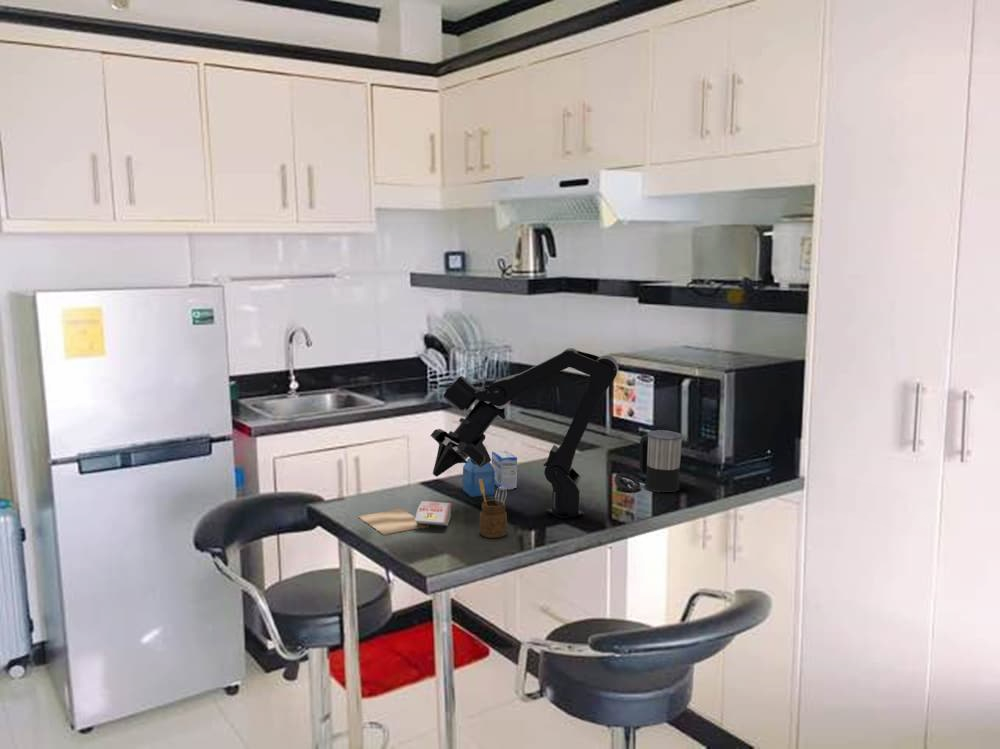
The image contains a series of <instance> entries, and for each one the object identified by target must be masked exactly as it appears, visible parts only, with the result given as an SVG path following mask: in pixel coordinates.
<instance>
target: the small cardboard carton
mask: <svg viewBox="0 0 1000 749" xmlns="http://www.w3.org/2000/svg"><path fill="white" fill-rule="evenodd" d="M451 512H452V502H447V501H446V502H445V501H434V500H433V501H432V500H422V501H421V502H420V504H419V505H418V507H417V510H416V513H415V516H414V517H415V522H416V523H417V524H426V525H429V526H439V527H440V526H443V527H447V526H449V523H450V520H451V514H452V513H451Z"/></svg>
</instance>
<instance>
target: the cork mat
mask: <svg viewBox="0 0 1000 749" xmlns="http://www.w3.org/2000/svg"><path fill="white" fill-rule="evenodd" d="M415 517H416V516H414V515H413V514H411V513H409V512H407V511H405V510H404V509H402V508H397V509H391V510H386V511H379V512H376V513H375V512H374V513H370V514H368V513H367V514H364V515H363V514H362V515H358V516H357V518H358V519H360V520H361V521H363V522H364V523H365V522H366V525H368V524H369V525H368V526H370V527H371V526H372V527H373V529H374V528H375V529H376V531H377V532H378V531H379V532H378V533H380V535H382V534H383V536H387V535H393V534H398V533H405V532H410V531H414V529H415V530H420V529H419V528H421V529H426V528H429V527H430V525H426V524H417V523H416V522H415ZM372 527H371V528H372ZM425 527H426V528H425ZM375 529H374V530H375Z"/></svg>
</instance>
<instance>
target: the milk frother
mask: <svg viewBox="0 0 1000 749" xmlns="http://www.w3.org/2000/svg"><path fill="white" fill-rule="evenodd" d="M683 437H684V436H683V433H680V432H676V431H671V430H662V429H661V430H659V429H657V430H650V431H648V432H647V434H643V435H642V437H641V438H640V440H639V471H640V472H641V473H645V474H646V475H645V480H644V481H645V482H644V481H642V480H641V479H639V478H637V477H635V476H633V475H632V474H629V473H628V472H627V473H626V472H618V473H616V475H615V476H614V483H615V485H616V486H617V487H619V488H620V489H622V491H628V492H629V491H630V492H636V491H639V490H640V488H641V484H644V485H643V486H644V488H645V489H646V490H648V491H650V492H651V491H652V492H655V493H660V492H663V493H664V492H672V491H676V490H679V491H680V489H679V488H680V469H681V468H680V467H681V456H682V455H681V454H682V441H683V440H682V438H683ZM631 482H633V483H634V484H635V485H634V486H631V484H632V483H631ZM663 493H662V494H663ZM664 494H665V493H664Z"/></svg>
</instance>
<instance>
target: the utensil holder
mask: <svg viewBox="0 0 1000 749" xmlns="http://www.w3.org/2000/svg"><path fill="white" fill-rule="evenodd" d="M479 484H480V489H481V493H482V494H483V496H482V497H483V501H482V503H481V509H482V510H481V511H480V513H479V532H480V535H481V536H482V537H485V538H490V539H497V538H502V537H504V536H506V535H507V530H508V529H507V528H508V516H507V511H506V507H507V506H506V502H505V501H506V498H507V495H505V497H504V494H507V492H508V491H507V490H502V491H501V489H500V488H501V487H502V486H500V488H499V487H497V490H496V493H495V495H498V496H500V493H498V490H499V492H505V493H502V495H501V497H504V498H501V499H499V498H496V497H497V496H495V499H487V498H486V495H485V489H484V485H483V481H482V478H481V479H480V480H479ZM503 489H504V488H503ZM497 493H498V494H497ZM503 499H504V500H503Z"/></svg>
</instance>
